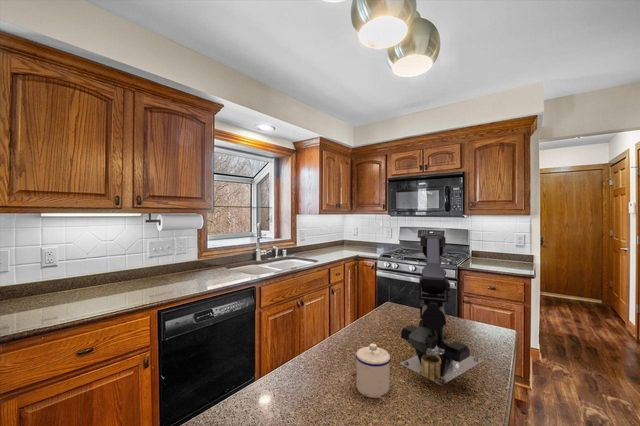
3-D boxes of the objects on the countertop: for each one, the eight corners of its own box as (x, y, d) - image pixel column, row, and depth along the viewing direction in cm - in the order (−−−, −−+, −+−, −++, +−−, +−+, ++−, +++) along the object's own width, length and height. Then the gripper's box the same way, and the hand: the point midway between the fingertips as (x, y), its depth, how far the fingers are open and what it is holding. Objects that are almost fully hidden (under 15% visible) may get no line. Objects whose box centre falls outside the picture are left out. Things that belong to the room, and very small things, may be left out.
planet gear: (417, 371, 84) (417, 357, 84) (429, 365, 88) (429, 352, 88) (435, 381, 80) (436, 366, 80) (448, 374, 83) (448, 360, 83)
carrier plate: (399, 365, 89) (399, 351, 89) (441, 346, 102) (441, 333, 102) (441, 388, 78) (441, 371, 78) (483, 363, 91) (483, 349, 91)
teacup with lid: (397, 392, 76) (398, 347, 76) (371, 403, 71) (371, 356, 71) (367, 370, 86) (367, 331, 86) (342, 379, 81) (342, 337, 81)
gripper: (388, 313, 87) (388, 365, 87) (448, 335, 72) (447, 398, 72) (412, 306, 93) (411, 355, 93) (471, 325, 78) (470, 383, 78)
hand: (432, 371), depth 84 cm, fingers open, 6 cm apart
